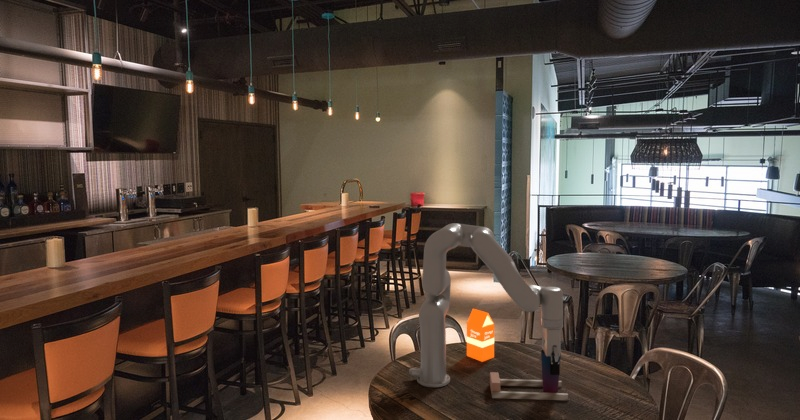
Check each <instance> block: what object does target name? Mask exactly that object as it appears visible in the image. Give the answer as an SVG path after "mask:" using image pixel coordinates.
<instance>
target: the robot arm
mask: <svg viewBox="0 0 800 420" xmlns="http://www.w3.org/2000/svg"><path fill="white" fill-rule="evenodd" d="M458 246H460V247H466V248H471V249H472V251H473V252H474V253H475V254H476V256H477V257H478V258H479V259H480V260H481V261H482V262H483V263H484V265H485V266H486V267H487V268H488V269H489V270H490V272H492V274H493V275H494V277H495V279H496V280H497V281H498V283H499V285H501V286H502V288H503V290H504V291H505V293H506V294H507V295H508V296H509V298H510V299H511V300H513V302H514V303H515V304H516V306H517V307H518V308H520V309H521V310H522V311H523V312H526V313H533V312H535V311H537V309H539V307H540V326H541V328H542V334H541V335H542V338H541V350H543V351H544V353H545V355H546V356H547V357H548V356H550V360H551V363H550V375H559V376H560V375H561V374H560V372H561V371H560V370H561V363H560V364H559V356H560V353H561V354H562V350H561V348H562V347H561V343H562V342H561V341H562V340H561V329H563V328H564V292H563V290H562V288H560V287H558V286H542V285H541V286H539V285H536V284H527V283H526V281H525V280H524V278H523V276H521V274H520V272H519V270H518V268H517V265H516V263H515V261H514V259H513V258H512V257H511V256H510V254H508V252H507V251H506V250H505V249H504V248H503V247H502V245H501V244H499V242H498V241H497V240H496V239H495V234H494V232H493V230H491V228H488V227H486V226H479V225H471V224H465V223H455V222H453V223H449V224H447V225H445V226H443V227H442V228H441V229H439V230H437V231H435V232H433V233H432V234H431V235H430V236H429V237H428V238H427V240H426V241H425V244H424V248H423V260H422V261H423V263H422V279H421V280H422V281H421V286H422V289H423V292H424V293H425V300H424V301H423V303H422V304H421V306H420V308H419V311H418V321H419V322H418V323H419V331H420V332H419V333H420V338H419V339H420V367H418V368H409V371H408V373H409V375H411V376H412V377H416V381H417V382H416V383H418V384H420V385H421V386H423V387H426V388H441V387H444V386H447V385H449V383H450V382H451V376H450V375H449V374H447V340H446V339H447V335H446V334H447V333H446V332H447V331H446V315H448V313H449V310H450V305H451V282H452V281H451V280H452V279H451V275H450V273H449V271H448V269H447V253H448V251H451V250H454V249H455V248H457V247H458ZM551 354H554V355H551ZM552 357H554V358H553V360H552Z"/></svg>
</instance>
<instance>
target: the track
mask: <svg viewBox="0 0 800 420" xmlns="http://www.w3.org/2000/svg"><path fill="white" fill-rule="evenodd" d="M489 372H490V373H489V388H490V393H491V399H512V400H513V399H514V400H515V399H516V400H543V401H544V400H547V401H569V394H568V393H567V392H558V393H543V392H537V391H536V392H533V391H505V390H504V391H503V390H501V386H504V387H505V386H507V387H535V388H536V387H538V388H541V387H542V388H543V381H542V379H519V378H516V379H513V378H500V375H499V372H498V371H497V372H495V371H494V372H493V371H492V372H491V371H489ZM562 387H563V381H562V380H559V383H558V388H562Z"/></svg>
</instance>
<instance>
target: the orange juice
mask: <svg viewBox="0 0 800 420" xmlns="http://www.w3.org/2000/svg"><path fill="white" fill-rule="evenodd" d="M466 356H467V357H469V358H471V359H473V360H474V359H475V360H477V361H479V362H481V363H483V362H486V361H488V360H490V359H493V358H495V323H494V321H493V320H492V318H491V316H490V314H489V312H486V311H483V310H479V309H476V308H472V310H471V312H470V314H469V316H468V319H467V321H466Z"/></svg>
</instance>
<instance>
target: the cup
mask: <svg viewBox="0 0 800 420" xmlns="http://www.w3.org/2000/svg"><path fill="white" fill-rule="evenodd" d="M551 355H554V354H551ZM561 356H562V352H561V353H560V356H559V364H560V365H561V358H562V357H561ZM553 358H554V357H552V360H553ZM540 359H541V375H542V377H541V380H542V381H543V387H542V393H559V387H558V383H559V381H560V374H559V375H550V363H551V360H550V356H548V357H547V356H546V355H545V353H544V351H543V349H541V350H540Z"/></svg>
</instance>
